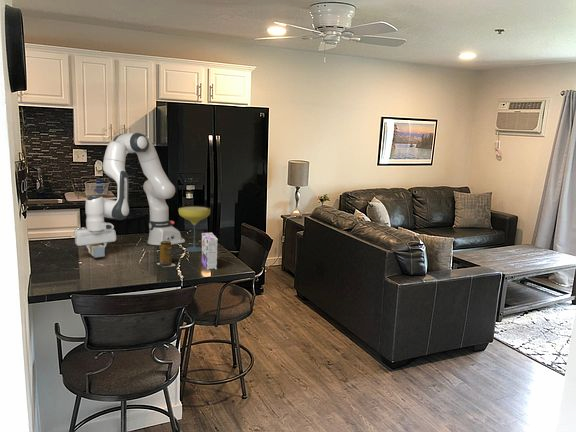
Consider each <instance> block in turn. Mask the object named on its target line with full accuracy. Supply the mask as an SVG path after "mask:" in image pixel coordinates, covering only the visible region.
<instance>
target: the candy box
mask: <svg viewBox="0 0 576 432" xmlns="http://www.w3.org/2000/svg"><path fill="white" fill-rule="evenodd" d="M218 240H219V239H218V238H217V236H216V235H214V233H213V232H201V248H202V251H201V264H202V266H203V267H204V269H205V270H206V271H210V270H212V271H213V270H214V269H215V270H218V248H219V247H218V246H219V245H218V242H219V241H218Z"/></svg>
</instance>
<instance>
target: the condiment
mask: <svg viewBox="0 0 576 432" xmlns="http://www.w3.org/2000/svg"><path fill="white" fill-rule="evenodd" d="M172 261H173V249H172V245H171V242H170V241H162V242H161V245H159V262H157V263H156V264H157V265H158V266H160V267H161V268H168V267H169V268H170V267H175V266H177V265H176V264H175V263H172Z"/></svg>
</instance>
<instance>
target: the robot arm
mask: <svg viewBox="0 0 576 432" xmlns="http://www.w3.org/2000/svg"><path fill="white" fill-rule="evenodd" d="M133 153H135V154H136V155H137V159H138V162H139V164H140V168H141V170H142V173H143V175H144V176H145V177H146V178H147V179H146V180H145V181H144V183H143V187H142V188H143V191H144V193H145V195H146V197H147V202H148V206H149V220H148V221H149V222H148V228H149V231H148V232H149V235H148V239H147V241H146V242H147V244H148V245H153V246H160V245H161V242H162V241H170V242H171V246H172V245H177V244H182V243H186V240H185V238H183V237H182V234H181V232H180V231H179V229H177V228H176V227H174V226H173V225H174V224H175V221H173V220H170V219H169V218H170V217H169V215H170V214H169V206H168V204H167V202H166V200H167V199H172V198H173V197H174V196H175V193H176V187H175V185H174V184H173V183H172V182H171V180H169V177H168V175H167V174H166V172H165V171H164V168H163V167H162V164H161V161H160V158H159V155H158V153H157V150H156V147H155V146H154V144H153V142H152V141H151V140H149V139H148V137H146V135H145V134H143V133H140V132H128V133H120V134H118V135H116V136H114V139H113V141H109V143H107V146H106V149H105V153H104V157H103V160H102V161H103V162H102V170H103V172H104V173H105V175H106V176H107V177H109V178H110V179H112V180H113V181H115V183H116V185H117V188H116V189H117V194H116V195H117V197H116V200H114V199H113V200H111V199H108V198H104V197H103V196H102V195H101V194H92V195H91V194H90V195H88V196H87V197H86V199H85V205H84V206H85V207H84V208H85V209H84V210H85V217H86V218H85V226H83V227H77V228H76V229H75V230H74V236H75V237H74V244H75V245H76V246H78V247H81V246H82V247H83V246H85V248H87V250H88V251H87V252H88V254H90V253H91V252H92V249H90V248H89V246H90V244H98V243H99V244H103V245H102V246H104V251H105V248H106V246H107V244H108V243H112V242H116V240H117V234H116V230H115V229H114V228H115V226H114V225H115V224H114V225H113V224H112V223H111V222H107V221H105V218H107V219H114V220H117V221H123V220H125V219H126V218H127V217H128V216H129V214H130V204H129V183H130V182H129V175H128V173H127V172H126V160H127V159H126V157H127V155H128V154H133Z"/></svg>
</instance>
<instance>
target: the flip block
mask: <svg viewBox="0 0 576 432" xmlns="http://www.w3.org/2000/svg"><path fill="white" fill-rule="evenodd" d="M88 247H89V248H90V249H92V252H91V253H89V254H90V255H91V256H92V257H93V258H102V257H106V255H105V251H104V246H103V245H102V243H98V244H90V246H88Z"/></svg>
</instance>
